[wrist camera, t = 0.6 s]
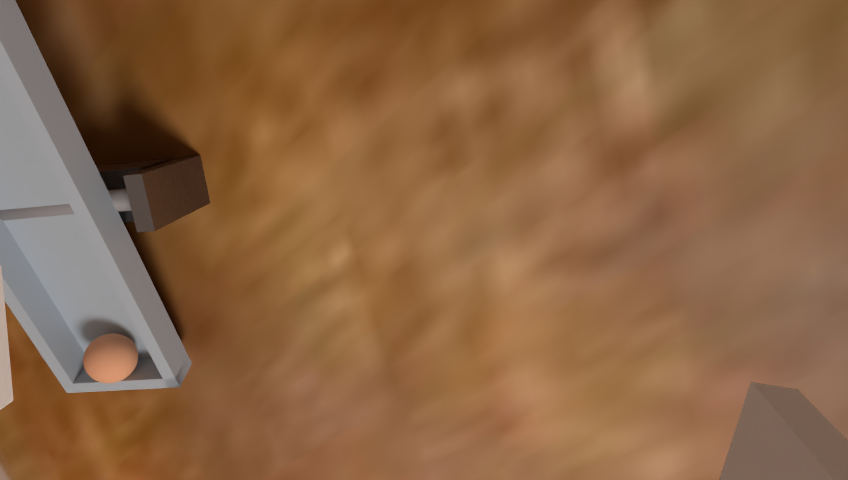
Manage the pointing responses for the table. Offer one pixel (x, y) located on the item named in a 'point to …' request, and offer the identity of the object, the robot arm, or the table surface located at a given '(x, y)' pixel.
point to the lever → (69, 234)
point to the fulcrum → (158, 189)
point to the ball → (110, 358)
